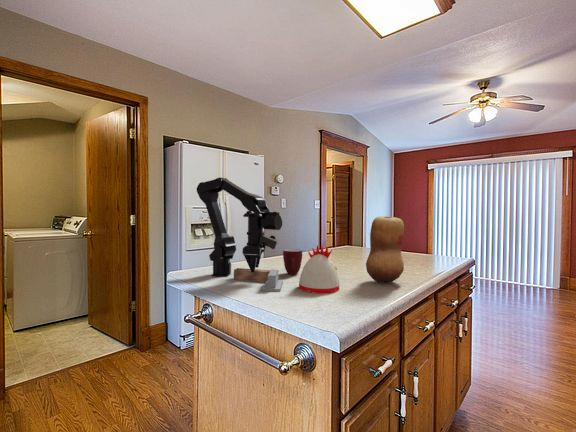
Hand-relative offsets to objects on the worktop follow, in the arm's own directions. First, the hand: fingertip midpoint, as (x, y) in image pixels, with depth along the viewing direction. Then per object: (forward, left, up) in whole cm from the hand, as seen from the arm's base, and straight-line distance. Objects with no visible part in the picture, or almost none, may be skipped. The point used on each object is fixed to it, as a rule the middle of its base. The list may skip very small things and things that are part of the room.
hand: (254, 269), depth 118 cm
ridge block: (+8, -10, -4) cm, 13 cm away
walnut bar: (0, 0, -4) cm, 4 cm away
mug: (+14, +11, -4) cm, 18 cm away
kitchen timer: (+24, -10, -4) cm, 26 cm away
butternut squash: (+49, +1, -4) cm, 49 cm away
